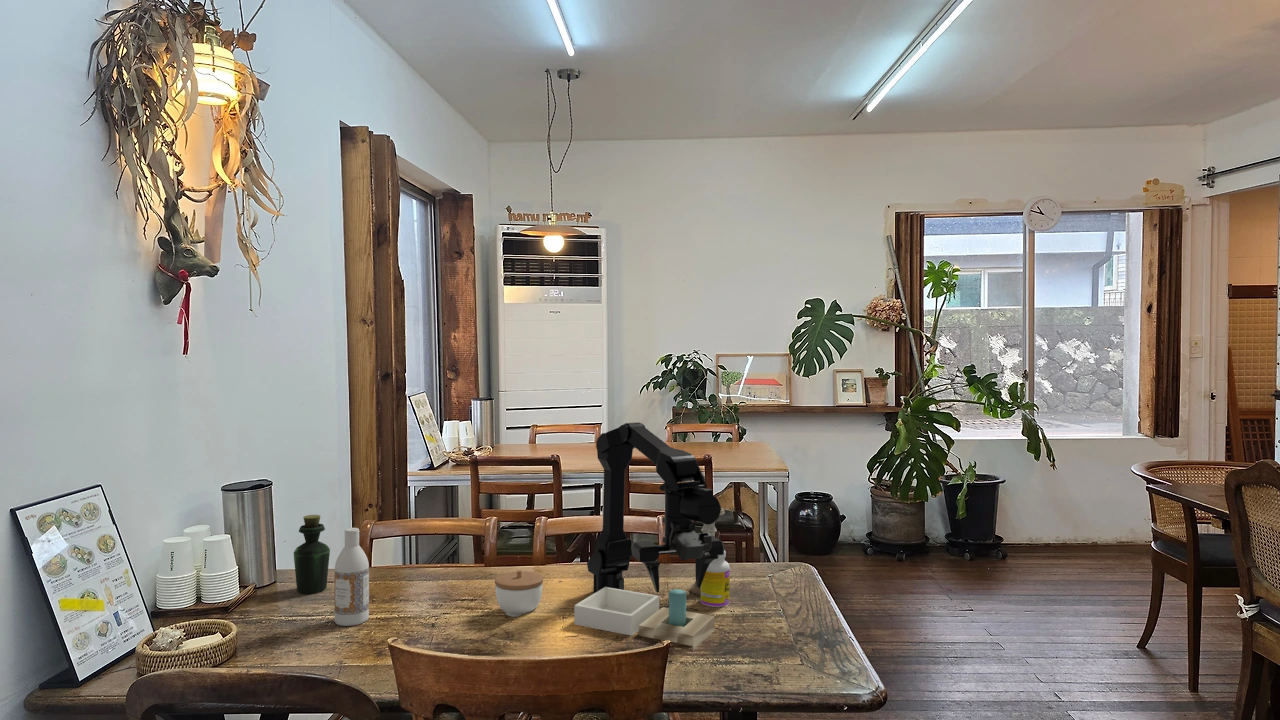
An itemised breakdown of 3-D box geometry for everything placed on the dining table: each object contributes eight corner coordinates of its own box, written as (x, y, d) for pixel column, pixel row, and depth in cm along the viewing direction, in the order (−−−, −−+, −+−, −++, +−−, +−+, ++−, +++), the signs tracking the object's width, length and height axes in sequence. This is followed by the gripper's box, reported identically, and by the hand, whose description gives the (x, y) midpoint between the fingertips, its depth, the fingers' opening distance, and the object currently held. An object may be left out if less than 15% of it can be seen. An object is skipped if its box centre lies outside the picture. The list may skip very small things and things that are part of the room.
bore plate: (638, 639, 151) (638, 625, 151) (662, 620, 162) (662, 607, 161) (693, 651, 145) (693, 635, 145) (714, 630, 156) (714, 616, 156)
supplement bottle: (728, 612, 167) (728, 555, 167) (698, 609, 168) (699, 553, 168) (730, 602, 174) (731, 547, 173) (702, 600, 175) (702, 546, 175)
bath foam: (327, 624, 158) (327, 531, 157) (349, 613, 164) (349, 524, 164) (354, 628, 156) (354, 534, 155) (375, 617, 162) (375, 526, 162)
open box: (574, 628, 156) (574, 605, 156) (605, 608, 169) (605, 586, 169) (631, 640, 151) (631, 616, 150) (659, 618, 163) (659, 596, 163)
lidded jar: (552, 612, 166) (553, 570, 166) (514, 624, 158) (514, 581, 158) (523, 600, 174) (523, 560, 173) (485, 612, 166) (485, 570, 166)
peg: (665, 636, 153) (666, 593, 152) (672, 630, 156) (673, 588, 156) (681, 639, 151) (682, 596, 151) (688, 633, 154) (688, 590, 154)
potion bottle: (335, 584, 184) (335, 512, 184) (322, 595, 176) (322, 520, 176) (302, 584, 184) (302, 512, 184) (287, 595, 176) (287, 520, 175)
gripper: (649, 527, 142) (648, 607, 143) (736, 520, 148) (735, 597, 149) (631, 514, 153) (630, 589, 153) (713, 508, 159) (712, 580, 159)
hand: (678, 589), depth 153 cm, fingers open, 9 cm apart
